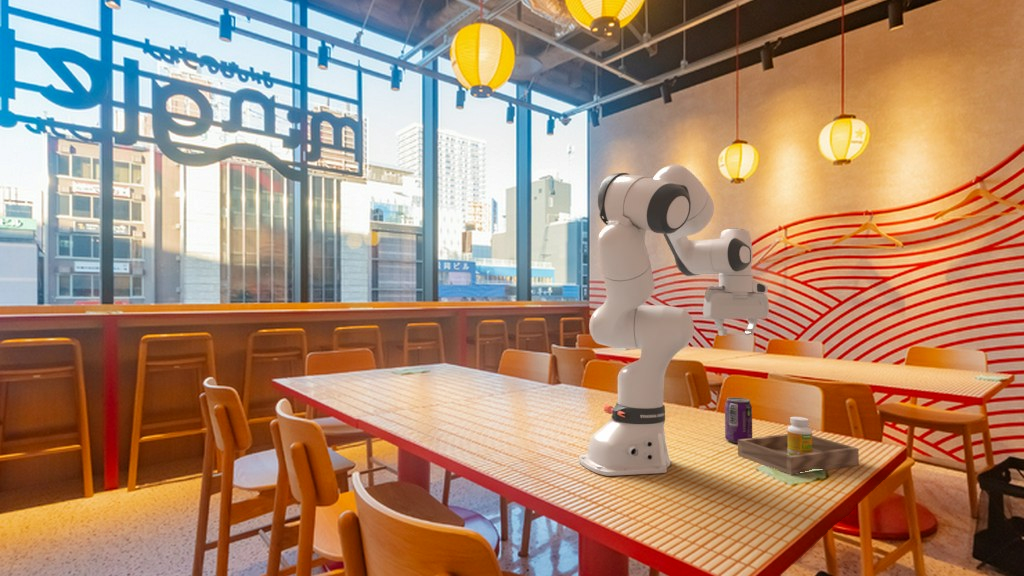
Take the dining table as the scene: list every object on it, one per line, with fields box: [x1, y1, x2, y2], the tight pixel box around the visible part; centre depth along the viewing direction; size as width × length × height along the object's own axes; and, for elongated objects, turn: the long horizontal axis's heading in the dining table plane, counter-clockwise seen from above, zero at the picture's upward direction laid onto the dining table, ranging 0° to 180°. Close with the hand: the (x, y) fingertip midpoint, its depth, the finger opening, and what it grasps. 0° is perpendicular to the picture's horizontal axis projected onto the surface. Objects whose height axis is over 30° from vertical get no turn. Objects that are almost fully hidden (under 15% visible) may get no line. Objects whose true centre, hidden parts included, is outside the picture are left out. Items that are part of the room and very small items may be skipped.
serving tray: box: [737, 433, 860, 476], centre depth 125 cm, size 22×16×4 cm
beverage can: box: [724, 397, 753, 445], centre depth 142 cm, size 7×7×12 cm
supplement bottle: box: [786, 416, 813, 456], centre depth 124 cm, size 5×5×10 cm
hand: (736, 335), depth 140 cm, fingers open, 8 cm apart
